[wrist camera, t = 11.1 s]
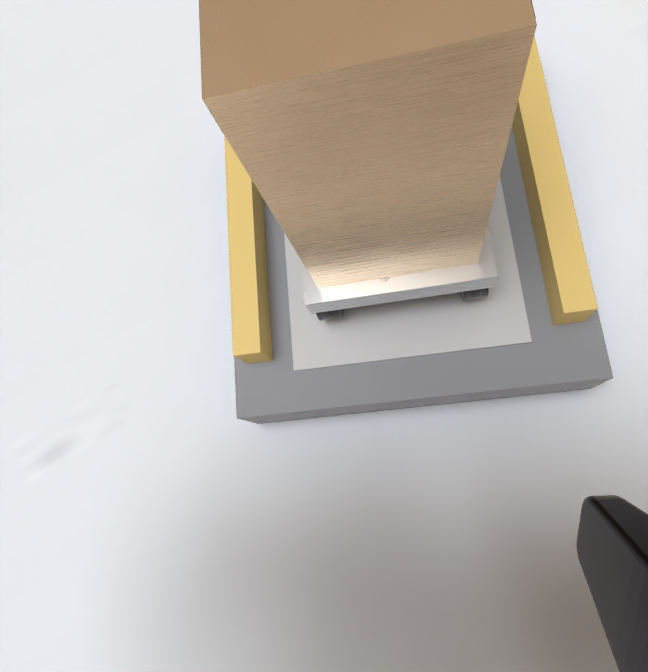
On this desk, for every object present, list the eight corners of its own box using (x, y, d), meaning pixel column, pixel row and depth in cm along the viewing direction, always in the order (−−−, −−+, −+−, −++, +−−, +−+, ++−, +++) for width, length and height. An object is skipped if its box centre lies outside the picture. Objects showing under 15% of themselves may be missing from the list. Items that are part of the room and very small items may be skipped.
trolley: (487, 303, 18) (635, -99, 5) (321, 327, 19) (99, 36, 6) (455, 129, 20) (506, -488, 7) (306, 158, 21) (109, -338, 8)
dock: (590, 388, 19) (636, 366, 15) (258, 423, 22) (215, 412, 17) (522, 76, 23) (543, -13, 19) (243, 133, 25) (205, 65, 21)
